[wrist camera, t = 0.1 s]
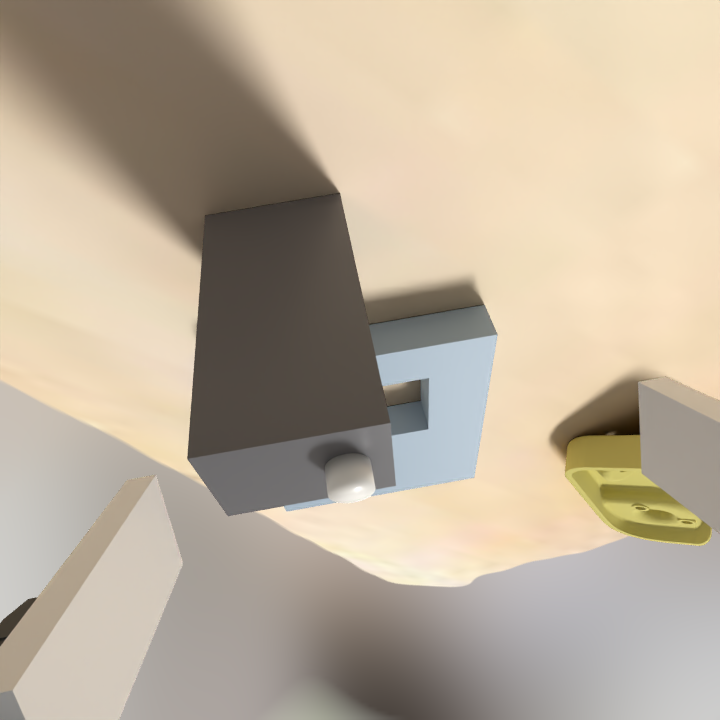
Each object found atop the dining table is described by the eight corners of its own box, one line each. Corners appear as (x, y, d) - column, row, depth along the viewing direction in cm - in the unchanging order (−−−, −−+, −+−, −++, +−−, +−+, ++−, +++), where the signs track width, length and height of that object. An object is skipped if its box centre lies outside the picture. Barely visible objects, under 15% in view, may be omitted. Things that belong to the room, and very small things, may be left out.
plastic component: (557, 466, 46) (691, 470, 39) (563, 392, 49) (688, 385, 43) (615, 537, 58) (724, 548, 52) (617, 474, 62) (720, 477, 55)
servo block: (205, 215, 25) (185, 488, 16) (339, 193, 25) (396, 450, 16) (231, 285, 28) (227, 542, 19) (349, 265, 28) (401, 510, 19)
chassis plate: (224, 350, 32) (223, 382, 30) (484, 304, 32) (497, 334, 30) (284, 484, 45) (286, 511, 44) (466, 451, 46) (474, 477, 44)
